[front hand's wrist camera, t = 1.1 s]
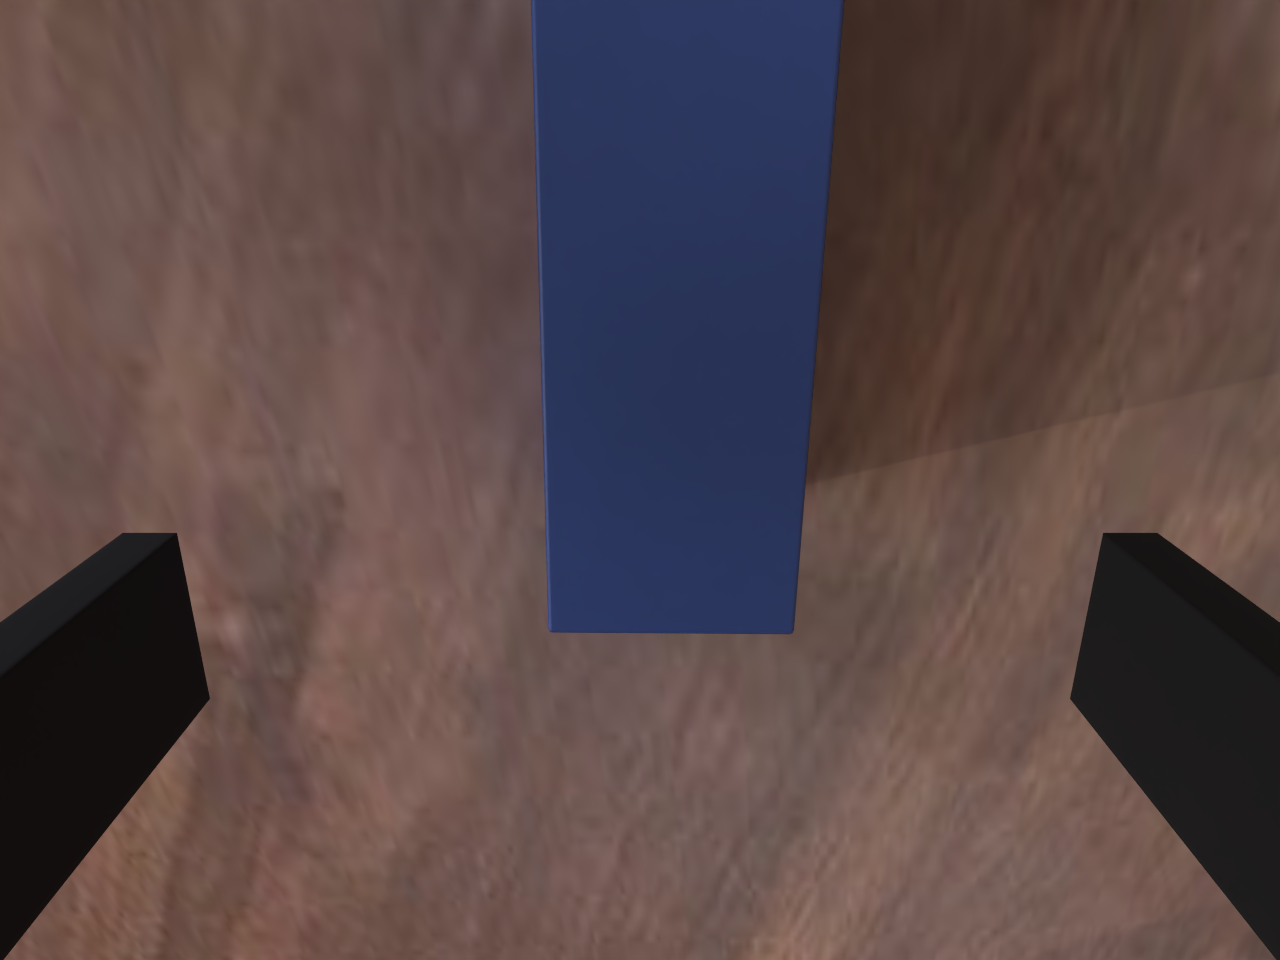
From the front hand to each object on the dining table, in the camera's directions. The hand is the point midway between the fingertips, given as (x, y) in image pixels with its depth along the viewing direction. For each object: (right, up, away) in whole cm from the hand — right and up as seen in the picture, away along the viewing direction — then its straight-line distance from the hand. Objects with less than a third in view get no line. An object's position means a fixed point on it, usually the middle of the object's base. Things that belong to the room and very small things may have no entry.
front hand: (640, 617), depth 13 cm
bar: (+1, +12, +11) cm, 16 cm away
